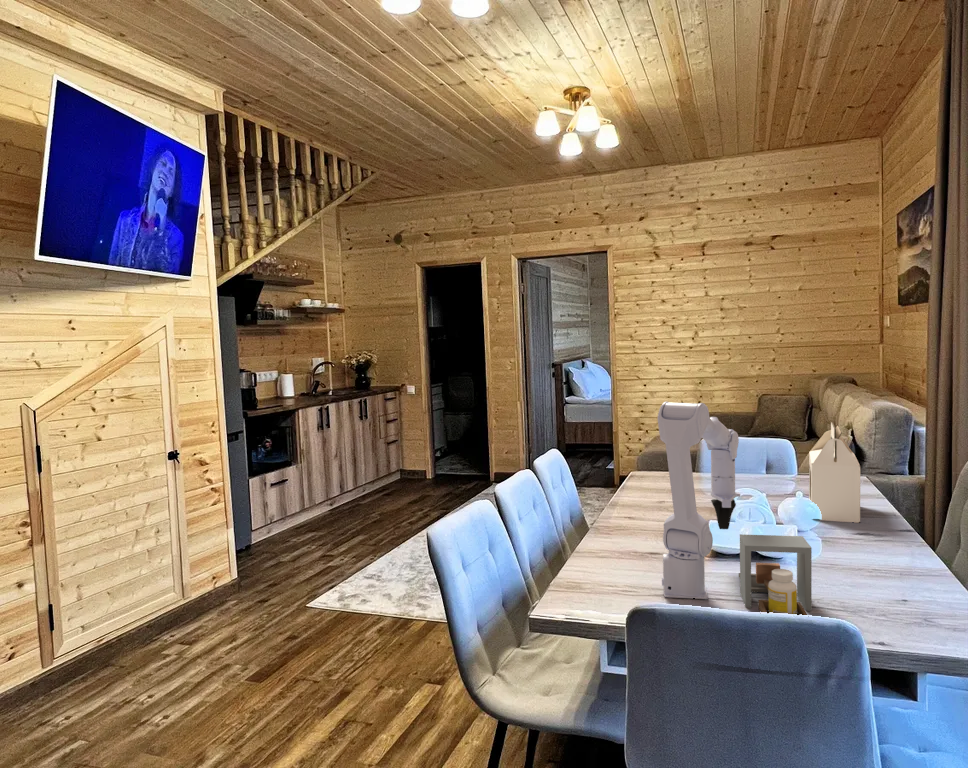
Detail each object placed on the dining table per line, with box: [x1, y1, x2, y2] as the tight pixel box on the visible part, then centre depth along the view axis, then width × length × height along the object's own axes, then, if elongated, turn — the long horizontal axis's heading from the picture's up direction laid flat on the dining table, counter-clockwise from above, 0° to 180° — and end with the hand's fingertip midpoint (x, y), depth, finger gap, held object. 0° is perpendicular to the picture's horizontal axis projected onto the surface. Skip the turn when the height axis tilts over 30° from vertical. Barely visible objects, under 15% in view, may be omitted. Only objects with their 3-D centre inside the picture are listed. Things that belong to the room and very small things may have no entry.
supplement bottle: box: [767, 568, 798, 615], centre depth 142 cm, size 5×5×10 cm
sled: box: [755, 562, 808, 615], centre depth 148 cm, size 8×22×5 cm, turn 167°
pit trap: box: [738, 572, 768, 594], centre depth 160 cm, size 11×10×1 cm
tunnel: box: [739, 533, 813, 612], centre depth 150 cm, size 13×8×14 cm, turn 77°
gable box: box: [808, 421, 861, 524], centre depth 216 cm, size 22×13×28 cm, turn 156°
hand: (723, 528), depth 173 cm, fingers closed
